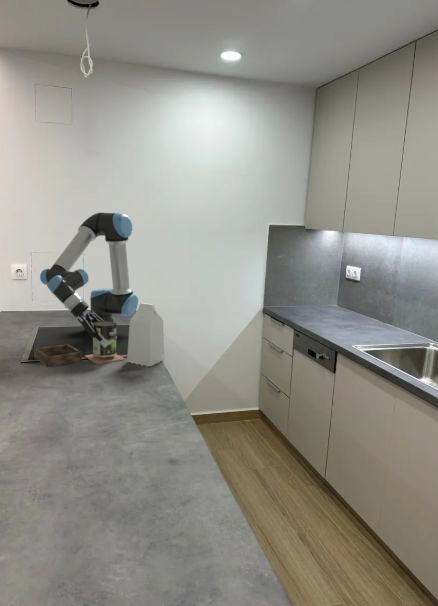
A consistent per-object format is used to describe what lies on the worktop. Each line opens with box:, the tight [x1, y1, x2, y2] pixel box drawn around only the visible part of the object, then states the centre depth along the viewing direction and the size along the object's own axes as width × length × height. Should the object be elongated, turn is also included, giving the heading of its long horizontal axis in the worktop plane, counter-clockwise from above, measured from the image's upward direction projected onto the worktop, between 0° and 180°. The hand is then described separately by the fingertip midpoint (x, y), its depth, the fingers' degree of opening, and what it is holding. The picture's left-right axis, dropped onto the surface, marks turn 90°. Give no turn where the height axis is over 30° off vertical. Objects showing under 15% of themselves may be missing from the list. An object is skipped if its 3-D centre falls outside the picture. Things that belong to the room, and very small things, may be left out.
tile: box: [84, 353, 125, 365], centre depth 206 cm, size 13×13×1 cm
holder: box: [33, 343, 83, 368], centre depth 201 cm, size 15×15×4 cm
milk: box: [126, 302, 165, 367], centre depth 203 cm, size 12×12×26 cm
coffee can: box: [92, 321, 118, 357], centre depth 205 cm, size 10×10×14 cm
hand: (111, 342), depth 205 cm, fingers closed on coffee can, 10 cm apart
